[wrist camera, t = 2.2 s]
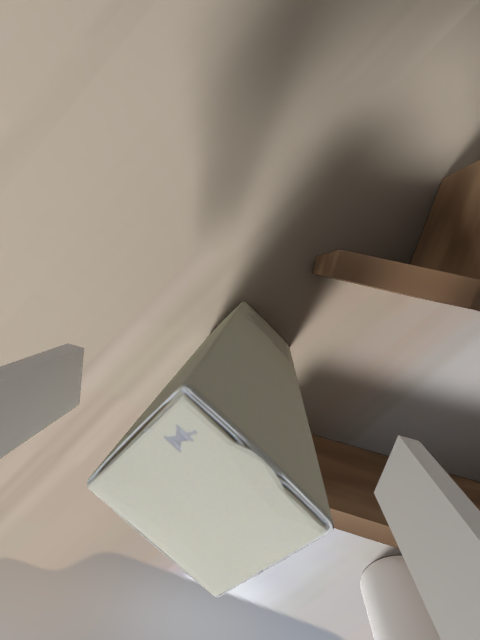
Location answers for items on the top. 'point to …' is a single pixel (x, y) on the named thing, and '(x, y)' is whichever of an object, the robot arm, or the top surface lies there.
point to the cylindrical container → (395, 602)
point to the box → (223, 461)
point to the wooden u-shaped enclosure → (421, 282)
